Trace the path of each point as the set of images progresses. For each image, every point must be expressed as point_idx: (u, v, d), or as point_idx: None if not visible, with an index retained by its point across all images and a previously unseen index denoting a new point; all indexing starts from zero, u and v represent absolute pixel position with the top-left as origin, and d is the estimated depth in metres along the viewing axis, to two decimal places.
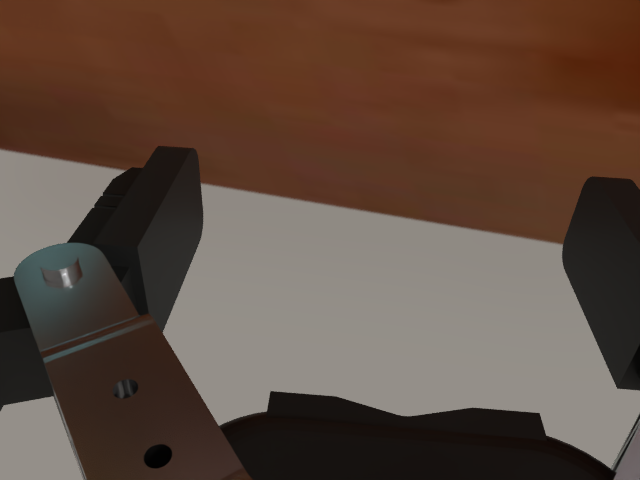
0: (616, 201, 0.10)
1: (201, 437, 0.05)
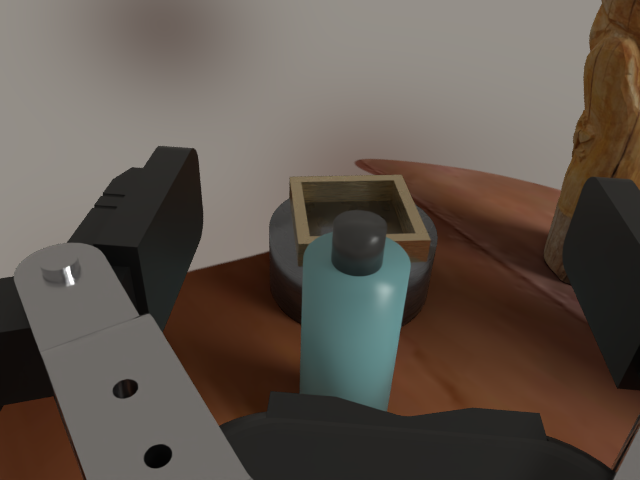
0: (616, 201, 0.10)
1: (201, 436, 0.05)
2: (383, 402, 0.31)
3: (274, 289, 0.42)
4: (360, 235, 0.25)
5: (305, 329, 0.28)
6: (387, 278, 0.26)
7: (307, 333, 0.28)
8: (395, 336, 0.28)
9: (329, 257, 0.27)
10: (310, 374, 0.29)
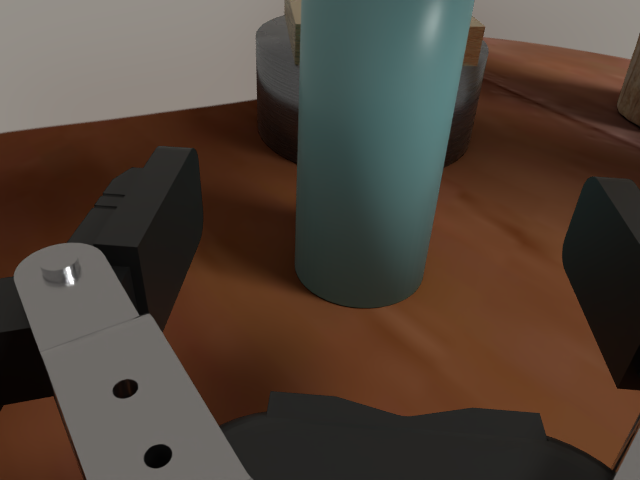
0: (616, 201, 0.10)
1: (200, 438, 0.05)
2: (429, 204, 0.19)
3: (263, 124, 0.31)
4: None
5: (306, 53, 0.17)
6: None
7: (309, 58, 0.17)
8: (457, 61, 0.17)
9: None
10: (313, 143, 0.18)
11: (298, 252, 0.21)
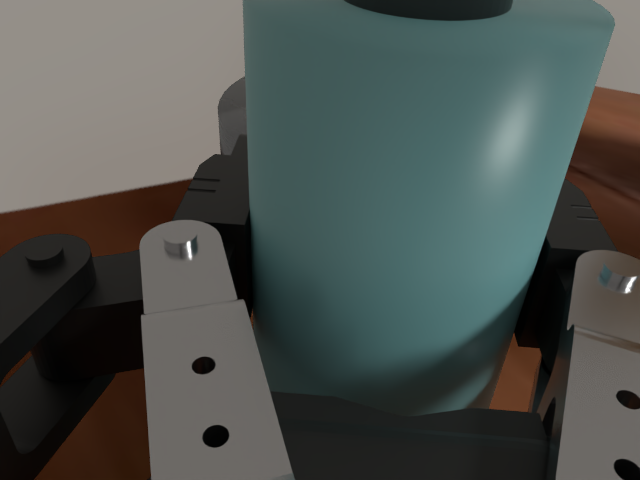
0: None
1: (258, 428, 0.06)
2: None
3: None
4: None
5: (257, 240, 0.09)
6: (543, 26, 0.07)
7: (262, 252, 0.09)
8: (535, 261, 0.09)
9: None
10: (274, 376, 0.10)
11: None
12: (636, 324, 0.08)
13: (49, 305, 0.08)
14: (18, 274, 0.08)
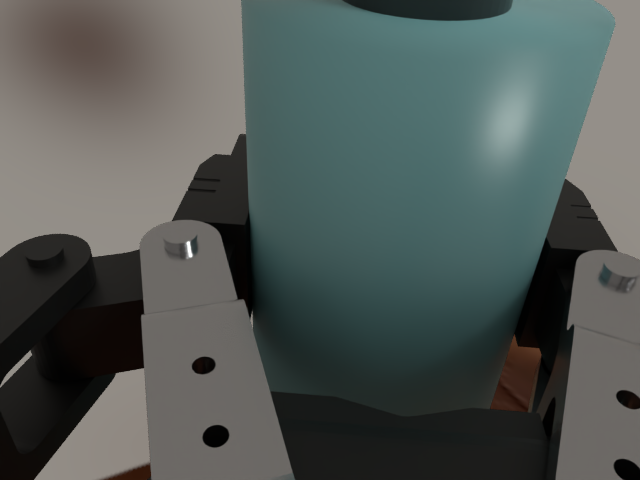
0: None
1: (259, 427, 0.06)
2: None
3: None
4: None
5: (256, 241, 0.09)
6: (543, 26, 0.07)
7: (262, 253, 0.09)
8: (535, 262, 0.09)
9: None
10: (274, 378, 0.10)
11: None
12: (636, 324, 0.08)
13: (49, 305, 0.08)
14: (19, 274, 0.08)
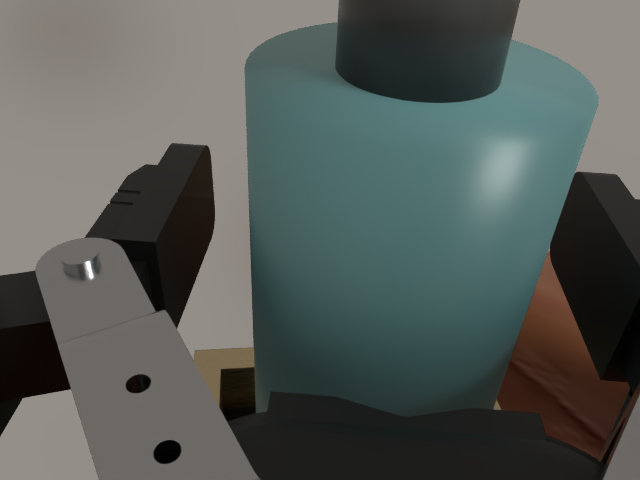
0: (601, 195, 0.11)
1: (210, 435, 0.05)
2: None
3: None
4: None
5: (258, 293, 0.10)
6: (530, 108, 0.08)
7: (263, 306, 0.10)
8: (523, 316, 0.09)
9: (330, 62, 0.09)
10: None
11: None
12: None
13: None
14: None
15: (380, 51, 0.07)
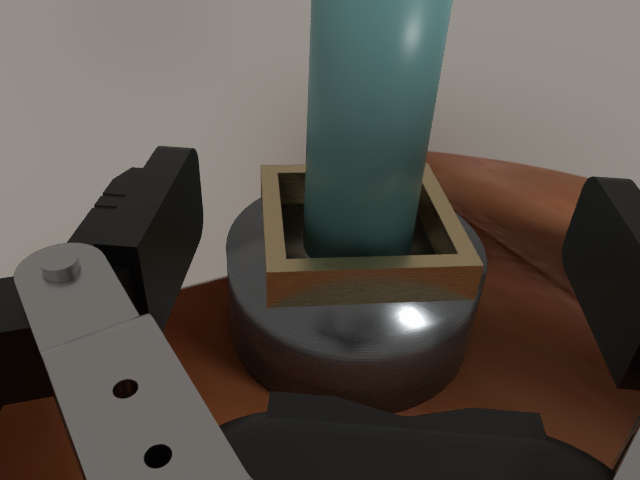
0: (616, 201, 0.10)
1: (201, 437, 0.05)
2: (414, 191, 0.24)
3: (235, 337, 0.27)
4: None
5: (314, 70, 0.21)
6: None
7: (317, 73, 0.21)
8: (434, 76, 0.21)
9: None
10: (319, 141, 0.22)
11: (306, 231, 0.26)
12: None
13: None
14: None
15: None
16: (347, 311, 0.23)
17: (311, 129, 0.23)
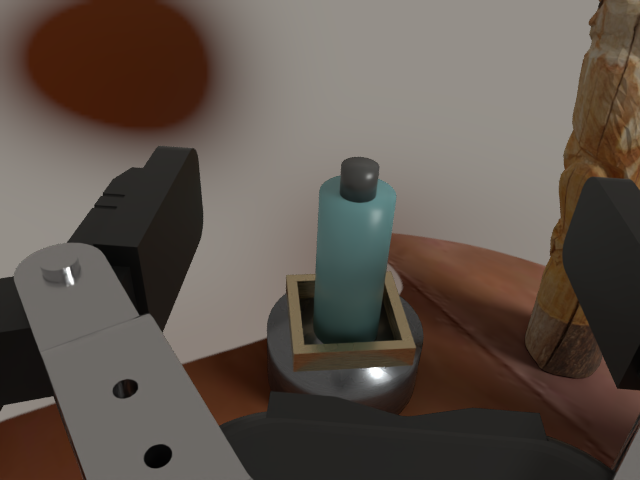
0: (616, 201, 0.10)
1: (200, 436, 0.05)
2: (377, 304, 0.41)
3: (271, 383, 0.45)
4: (360, 172, 0.36)
5: (320, 245, 0.39)
6: (379, 204, 0.37)
7: (322, 248, 0.39)
8: (385, 250, 0.39)
9: (338, 191, 0.38)
10: (323, 280, 0.40)
11: (315, 323, 0.43)
12: None
13: None
14: None
15: (348, 193, 0.37)
16: (338, 373, 0.41)
17: (318, 272, 0.41)
